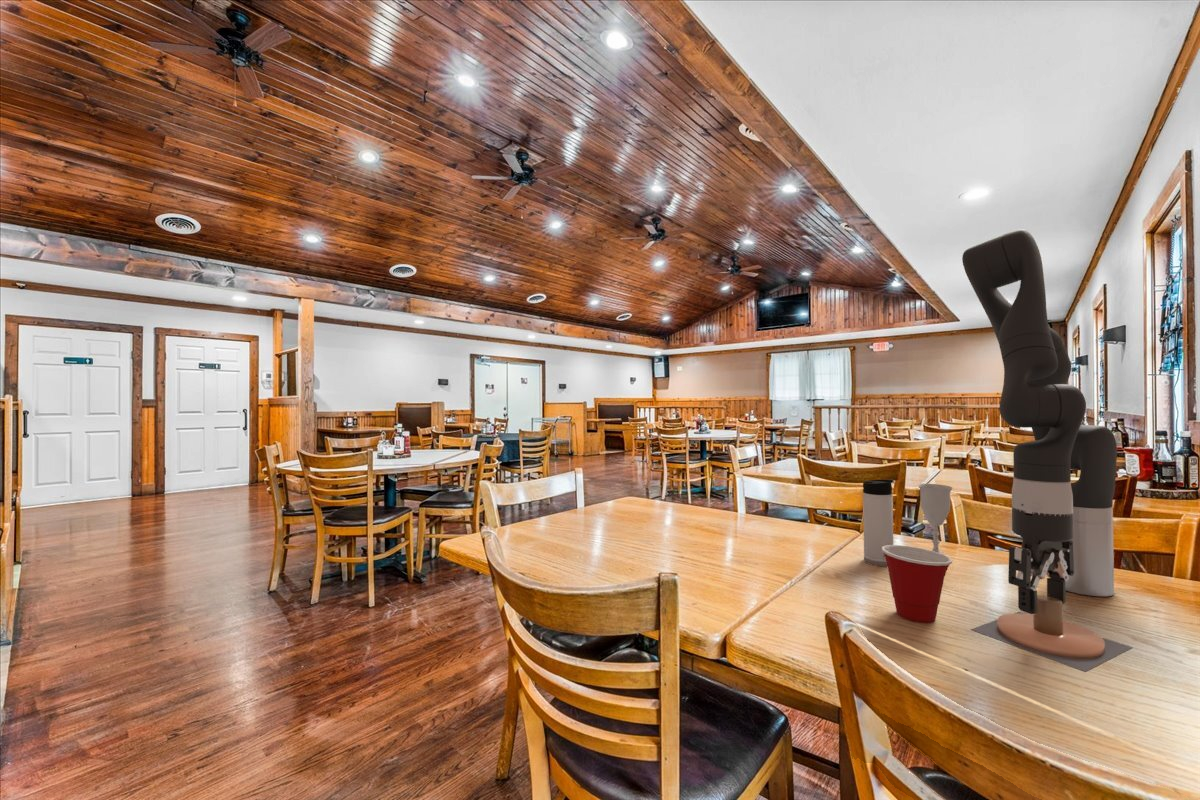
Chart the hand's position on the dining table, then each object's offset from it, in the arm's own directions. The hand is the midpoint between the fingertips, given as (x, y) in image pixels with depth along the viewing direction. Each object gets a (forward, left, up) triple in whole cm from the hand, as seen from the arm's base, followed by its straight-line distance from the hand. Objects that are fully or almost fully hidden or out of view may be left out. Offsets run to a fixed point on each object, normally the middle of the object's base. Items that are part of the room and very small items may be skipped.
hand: (1042, 607), depth 83 cm
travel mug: (-12, -37, -6) cm, 40 cm away
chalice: (-24, -31, -6) cm, 40 cm away
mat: (0, +1, -5) cm, 5 cm away
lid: (0, +1, -5) cm, 5 cm away
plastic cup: (+10, -14, -6) cm, 18 cm away
